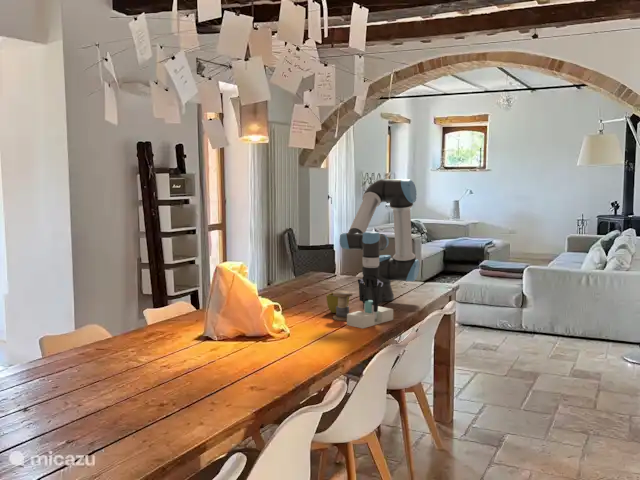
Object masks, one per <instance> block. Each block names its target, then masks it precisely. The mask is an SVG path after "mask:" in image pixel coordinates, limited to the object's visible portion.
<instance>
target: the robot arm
mask: <svg viewBox="0 0 640 480" xmlns="http://www.w3.org/2000/svg"><path fill="white" fill-rule="evenodd" d="M361 199H362V201H361V204H360V206H359V208H358V210H357V213H356V215H355V217H354V219H353V221H352V224H351V226H350V228H349V230H348V232H343V233H340V236H339V246H340V248H342V249H344V250H356V251H357V250H360V251H362V270H361V271H362V272H361V273H362V278H358V279H357V283H358V294H359V295H358V296H359V301H360V302H362V306H363V308H362V309H363V312H365V301H367V300H373V304H372V314H375V319H376V318H377V311H378V306H379V305H380V304H382V303H383V302H391V301H393V300H394V299H395V298H394V297H395V295H394V293H393V288H392V285H391V284H392V281H395V282H396V281H397V282H415V281H416V280H417V278H418V275H419V272H420V260H419V259H416V253H414V252H413V240H412V238H413V237H412V222H411V221H412V220H411V219H412V218H411V217H412V216H411V208H412V207H413V206H414V203H416V201H417V187H416V185H415V182H414V181H413V180H412V179H410V178H409V179H408V178H406V179H405V178H382V179H379V180H376V181H374V182H373V183H372V184H370V185H369V186H368V188H366V190H365V191H364V192H363V194H362V198H361ZM381 203H389V207H390V208H391V209H392V211H393V213H392V214H393V228H394V231H393V232H394V246H395V249H394V250H395V251H394V252H395V253H394V255H393V256H392V255H391V254H381V255H380V251H384V250H385V249H386V248H387V247H388V246H389V244H390V240H389V237H388V236H387V235H386V234H384V233H380V232H378V231H367V230H368V228H369V225H370V222H371V221H372V219H373V216H374V214H375V211H376V209H377V207H379V206H380V205H381Z"/></svg>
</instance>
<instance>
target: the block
mask: <svg viewBox="0 0 640 480" xmlns="http://www.w3.org/2000/svg"><path fill="white" fill-rule="evenodd" d="M372 304H373V300H367V301H365V312H367V313H372Z"/></svg>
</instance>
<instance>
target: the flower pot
mask: <svg viewBox="0 0 640 480" xmlns="http://www.w3.org/2000/svg"><path fill="white" fill-rule="evenodd" d="M349 301H350V297H347V306H349V305H350V304H349V303H350V302H349ZM326 304H327V306H328V307H327V308H328V309H329V311H330V312H331V314H336V306H338V297H336V296H333V292H331V293H328V294H326Z"/></svg>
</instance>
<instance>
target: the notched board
mask: <svg viewBox="0 0 640 480" xmlns="http://www.w3.org/2000/svg"><path fill="white" fill-rule="evenodd" d="M393 320H394V309H393V308H390V307H383V306H379V305H378V311H377V318H376V319H375V314H372V313H367V312H364V311H361V310H356V311H353V312H349V314H347V321H346V326H350V327H353V328H354V327H355V328H358V329H366V328H370V327H372V326H376V325H379V324H383V323H387V322H389V321H390V322H391V321H393Z"/></svg>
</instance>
